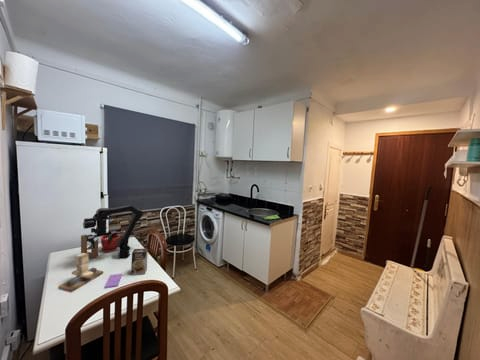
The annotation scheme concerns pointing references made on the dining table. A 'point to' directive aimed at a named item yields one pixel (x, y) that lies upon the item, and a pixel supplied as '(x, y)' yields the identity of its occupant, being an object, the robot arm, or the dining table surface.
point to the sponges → (113, 280)
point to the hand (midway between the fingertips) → (101, 246)
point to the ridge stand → (79, 281)
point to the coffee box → (139, 261)
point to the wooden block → (93, 250)
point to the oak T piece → (82, 266)
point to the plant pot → (111, 246)
